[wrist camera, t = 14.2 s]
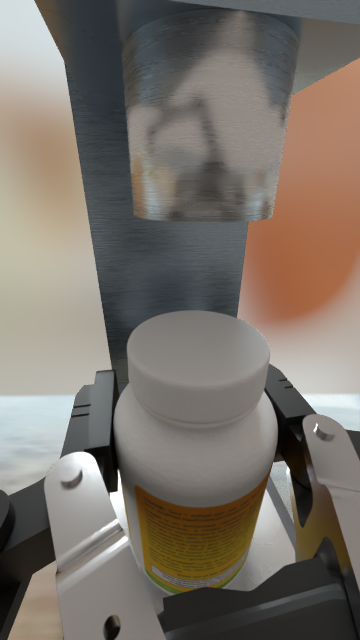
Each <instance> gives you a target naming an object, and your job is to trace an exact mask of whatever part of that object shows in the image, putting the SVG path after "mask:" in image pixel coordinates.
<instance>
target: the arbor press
mask: <svg viewBox="0 0 360 640" xmlns="http://www.w3.org/2000/svg"><path fill="white" fill-rule="evenodd" d="M34 1H35V3H36V5H37V7H38V9H39V11H40V13H41V15H42V17H43V19H44V21H45V23H46V25H47V27H48V29H49V31H50V33H51V35H52V37H53V39H54V41H55V43H56V45H57V47H58V49H59V51H60V53H61V56H62V57H63V60H64V63H65V69H66V76H67V82H68V89H69V95H70V102H71V107H72V113H73V120H74V127H75V134H76V140H77V146H78V153H79V159H80V166H81V172H82V179H83V185H84V192H85V198H86V205H87V211H88V217H89V224H90V230H91V237H92V243H93V250H94V255H95V262H96V269H97V275H98V281H99V288H100V294H101V301H102V307H103V314H104V320H105V327H106V333H107V340H108V346H109V353H110V359H111V365H112V369H115V370H116V376H117V383H118V390H119V397H120V395H121V393H122V392H123V390H124V389H125V387H126V386H127V385H128V384H129V377H128V356H127V343H128V340H129V337H130V335H131V334H132V332H133V331H134V330H135V329H136V328H137V327H138V326H139V325H140V324H142V323H143V322H145V321H147V320H148V319H151V318H153V317H155V316H158V315H161V314H165V313H170V312H176V311H186V310H200V311H210V312H216V313H221V314H226V315H229V316H232V317H235V318H237V312H238V304H239V295H240V288H241V279H242V271H243V263H244V255H245V246H246V238H247V230H248V221H256V220H264V219H269V218H271V217H272V216H273V210H274V203H275V197H276V191H277V185H278V179H279V172H280V166H281V160H282V154H283V148H284V141H285V135H286V129H287V123H288V116H289V110H290V104H291V98H292V95H294V94H295V93H297V92H299V91H301V90H303V89H304V88H306V87H308V86H310V85H311V84H313V83H315V82H317V81H319V80H320V79H322V78H324V77H325V76H327V75H329V74H331V73H333V72H335V71H337V70H338V69H340V68H342V67H344V66H345V65H347V64H349V63H350V62H352V61H354V60H356V59H358V58H360V0H34ZM110 500H111V503H112V505H113V508H114V511H115V513H116V516H117V519H118V521H119V524H120V526H121V527H122V528H123V530H124V532H125V534H126V536H127V539H128V541H129V544H130V547H131V549H132V552H133V554H134V551H133V547H132V544H131V540H130V535H129V530H128V524H127V518H126V512H125V505H124V499H123V493H122V486H121V481H120V475H119V472H118V492H112V493H110ZM295 544H296V531H295V525H294V523H293V521H292V519H291V517H290V515H289V513H288V511H287V509H286V507H285V505H284V503H283V501H282V499H281V497H280V495H279V493H278V491H277V489H276V487H275V485H274V483H273V481H272V479H271V477H270V475H269V479H268V482H267V486H266V490H265V494H264V497H263V501H262V505H261V508H260V512H259V516H258V519H257V523H256V527H255V531H254V535H253V539H252V543H251V546H250V550H249V553H248V555H247V558H246V561H245V563H244V565H243V567H242V569H241V571H240V572H239V574H238V575H237V577H236V578H235V579H234V580H233V582H232V583H231V584H230V585H229V586H227V587H226V588H225V589H231V590H240V591H251V590H253V589H255V588H256V587H258V586H259V585H260V584H261V583H263V582H264V581H265V580H267V579H268V578H269V577H270V576H272V575H273V574H274V573H276V572H277V571H278V570H280V569H281V568H282V567H283V566H285V565H288V564H292V563H296V562H295ZM134 557H135V554H134ZM135 560H136V562H137V565H138V568H139V570H140V573H141V575H142V578H143V581H144V583H145V586H146V589H147V591H148V594H149V596H150V599H151V602H152V604H153V607H154V609H155V612H156V615H158V614H159V613H160V612H162V611H163V610H164V608H163V598H164V597H168V596H171V595H169V594H167V593H166V592H164V591H162V590H161V589H159V588H158V587H157V586H156V585H154V584H153V583H152V582H151V581H150V580H149V578H148V577H147V576H146V575H145V573H144V572H143V570H142V569H141V567H140V565H139V563H138V561H137V559H136V557H135ZM63 640H64V636H63Z"/></svg>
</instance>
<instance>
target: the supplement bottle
mask: <svg viewBox="0 0 360 640" xmlns="http://www.w3.org/2000/svg"><path fill="white" fill-rule="evenodd" d="M127 356H128V377H129V384H128V385H127V386H126V387H125V389H124V390H123V392H122V393H121V395H120V397H119V400H118V402H117V405H116V408H115V412H114V419H113V434H114V445H115V452H116V457H117V463H118V469H119V475H120V481H121V486H122V493H123V499H124V505H125V512H126V518H127V524H128V530H129V535H130V540H131V544H132V547H133V551H134V554H135V557H136V559H137V561H138V563H139V565H140V567H141V569H142V570H143V572H144V573H145V575H146V576H147V577H148V578H149V580H150V581H151V582H152V583H153V584H154V585H156V586H157V587H158V588H159V589H161V590H162V591H164V592H166V593H167V594H169V595H171V596H172V595H175V594H179V593H183V592H187V591H190V590H194V589H198V588H202V587H213V588H222V589H225V588H226V587H227V586H229V585H230V584H231V583H232V582H233V580H234V579H235V578H236V577H237V575H238V574H239V572H240V571H241V569H242V567H243V565H244V563H245V561H246V558H247V555H248V553H249V550H250V546H251V543H252V539H253V535H254V531H255V527H256V523H257V519H258V516H259V512H260V508H261V505H262V501H263V497H264V494H265V490H266V486H267V482H268V479H269V475H270V472H271V468H272V464H273V461H274V457H275V451H276V446H277V439H278V424H277V419H276V415H275V411H274V409H273V406H272V403H271V401H270V400H269V398H268V396H267V395H266V393H265V391H264V388H265V383H266V377H267V371H268V365H269V359H270V350H269V345H268V343H267V341H266V339H265V338H264V336H263V335H262V334H261V333H260V332H259V331H258V330H257V329H256V328H255V327H253V326H251V325H250V324H248V323H247V322H245V321H243V320H240V319H238V318H235V317H232V316H229V315H226V314H221V313H216V312H210V311H200V310H186V311H176V312H170V313H165V314H161V315H158V316H155V317H153V318H151V319H148V320H147V321H145V322H143V323H142V324H140V325H139V326H138V327H137V328H136V329H135V330H134V331H133V332H132V334H131V335H130V337H129V340H128V343H127Z"/></svg>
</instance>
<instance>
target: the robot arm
mask: <svg viewBox="0 0 360 640" xmlns="http://www.w3.org/2000/svg"><path fill="white" fill-rule="evenodd" d="M264 391H265V393H266V395H267V396H268V398H269V400H270V401H271V403H272V406H273V409H274V411H275V415H276V419H277V424H278V439H277V446H276V451H275V457H274V461H273V462H280V461H285V462H286V464H287V466H288V469H287V481H288V487H289V494H290V500H291V506H292V512H293V518H294V524H295V531H296V544H295V562H296V563H292V564H288V565H285V566H283V567H282V568H281V569H280V570H278V571H277V572H276V573H274V574H273V575H272V576H270V577H269V578H268V579H267V580H265V581H264V582H263V583H261V584H260V585H259V586H258V587H256V588H255V589H253V590H251V591H240V590H231V589H222V588H213V587H202V588H198V589H194V590H190V591H187V592H183V593H179V594H175V595H172V596H168V597H164V598H163V608H164V610H163V611H162V612H160V613H159V614H158V615H156V612H155V609H154V607H153V604H152V602H151V599H150V596H149V594H148V591H147V589H146V586H145V583H144V581H143V578H142V575H141V573H140V570H139V568H138V565H137V562H136V560H135V557H134V554H133V552H132V549H131V547H130V544H129V541H128V539H127V536H126V534H125V532H124V530H123V528H122V527H121V526H120V524H119V521H118V519H117V516H116V513H115V511H114V508H113V505H112V503H111V500H110V493H112V492H118V472H119V469H118V463H117V457H116V452H115V445H114V434H113V419H114V412H115V408H116V405H117V402H118V400H119V390H118V383H117V376H116V370H115V369H112V370H104V371H97V372H96V378H95V383H94V384H92V385H84V386H83V387H82V388H81V390H80V391H79V392H78V393H77V395H76V397H75V401H74V405H73V409H72V413H71V418H70V421H69V425H68V429H67V433H66V437H65V441H64V445H63V449H62V454H61V457H60V459H59V460H58V461H57V462H56V463H55V464H54V465H53V466H52V467H51V468H50V470H49V471H48V473H47V475H46V476H45V477H44V478H43V479H41V480H40V481H38V482H37V483H35V484H33V485H31V486H29V487H26V488H24V489H22V490H20V491H18V492H16V493H14V494H11V495H9V496H8V495H7V494H6V493H5V492H4V491H2V490H0V640H7V639H8V636H9V634H10V631H11V628H12V626H13V623H14V621H15V618H16V616H17V613H18V611H19V608H20V605H21V603H22V600H23V598H24V595H25V593H26V590H27V587H28V585H29V582H30V580H31V577H32V575H33V574H34V573H35V572H37V571H39V570H40V569H42V568H43V567H45V566H47V565H48V564H50V563H52V562H53V561H55V560H56V562H57V572H56V588H57V596H58V602H59V609H60V615H61V621H62V628H63V634H64V640H360V432H359V431H352V430H345V429H344V428H343V427H342V426H341V425H340V424H339V423H338V422H336V421H335V420H333V419H331V418H329V417H327V416H324V415H319V414H317V413H316V412H315V411H314V410H313V409H312V407H311V406H310V405H309V404H308V403H307V401H306V400H305V399H304V398H303V397H302V396H301V394H300V393H299V392H298V391H297V390H296V389H295V388H294V387H293V385H292V384H291V383H290V382H289V381H288V380H287V378H286V377H285V376H284V375H283V373H282V372H281V371H280V370H279V369H277V368H275V367H274V366H272V365H271V364H269V365H268V371H267V377H266V383H265V388H264Z"/></svg>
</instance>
